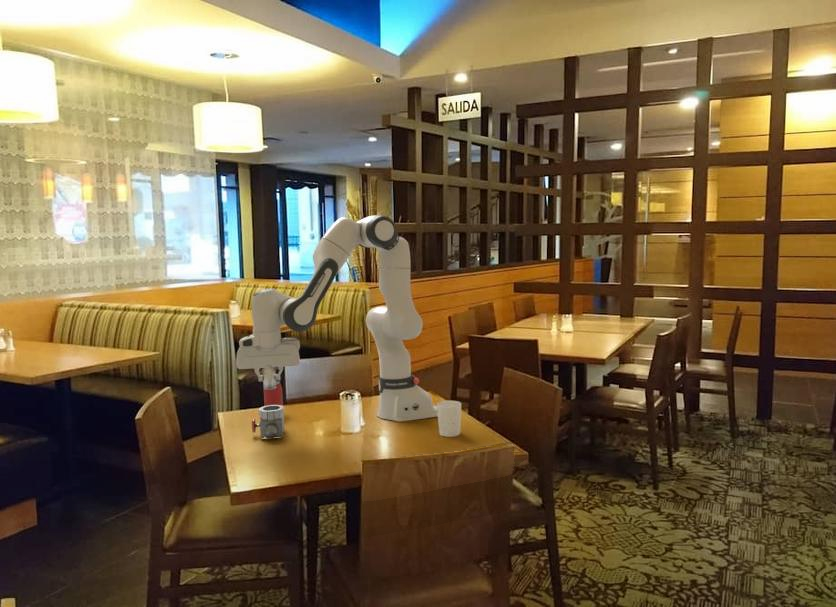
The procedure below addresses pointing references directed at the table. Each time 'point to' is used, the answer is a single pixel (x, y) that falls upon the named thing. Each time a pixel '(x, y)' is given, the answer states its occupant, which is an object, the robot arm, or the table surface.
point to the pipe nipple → (269, 377)
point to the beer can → (273, 396)
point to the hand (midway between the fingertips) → (269, 380)
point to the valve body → (270, 421)
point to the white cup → (449, 418)
